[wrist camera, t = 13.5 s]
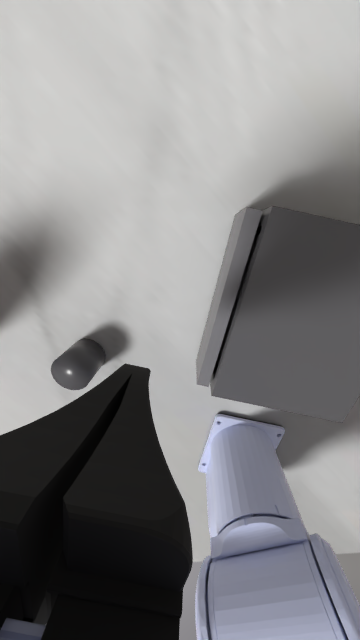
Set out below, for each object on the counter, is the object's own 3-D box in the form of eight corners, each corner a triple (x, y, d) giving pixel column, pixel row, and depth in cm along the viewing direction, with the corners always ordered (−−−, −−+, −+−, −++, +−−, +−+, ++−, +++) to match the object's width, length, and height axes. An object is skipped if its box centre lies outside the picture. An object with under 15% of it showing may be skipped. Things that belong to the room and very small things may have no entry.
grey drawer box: (207, 362, 22) (211, 395, 17) (250, 215, 17) (272, 205, 12) (310, 384, 22) (342, 422, 17) (382, 245, 17) (455, 246, 12)
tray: (196, 360, 21) (196, 384, 18) (235, 214, 17) (246, 206, 13) (299, 381, 22) (321, 410, 18) (368, 243, 17) (416, 244, 13)
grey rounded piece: (104, 371, 23) (89, 393, 20) (71, 365, 23) (51, 385, 20) (106, 343, 22) (91, 361, 18) (72, 336, 22) (50, 352, 18)
